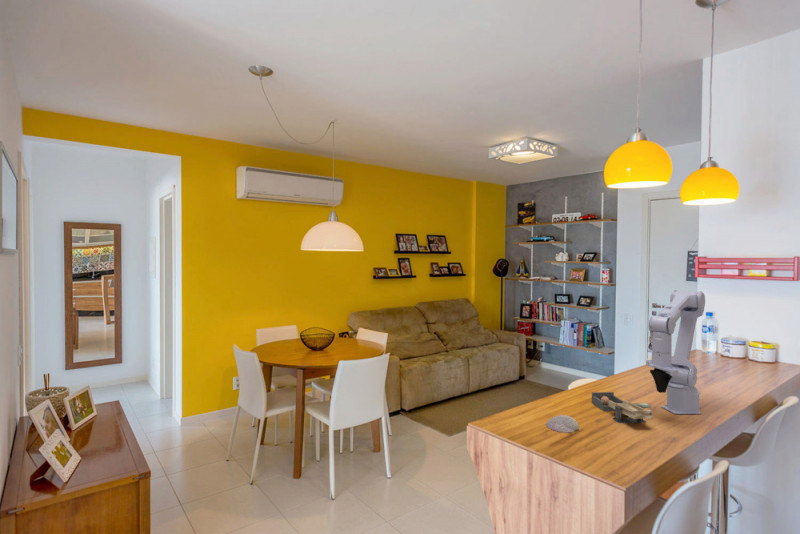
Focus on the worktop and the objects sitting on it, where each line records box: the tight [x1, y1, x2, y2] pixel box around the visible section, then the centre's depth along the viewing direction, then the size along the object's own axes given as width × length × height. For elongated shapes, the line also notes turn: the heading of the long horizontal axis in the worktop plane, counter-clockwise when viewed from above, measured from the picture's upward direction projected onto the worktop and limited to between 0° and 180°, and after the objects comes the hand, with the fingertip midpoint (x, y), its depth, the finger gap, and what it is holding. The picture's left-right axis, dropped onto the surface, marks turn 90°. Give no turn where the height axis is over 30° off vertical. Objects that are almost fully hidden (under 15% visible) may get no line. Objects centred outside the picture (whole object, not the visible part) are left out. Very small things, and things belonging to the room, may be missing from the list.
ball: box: [601, 396, 609, 406], centre depth 163 cm, size 3×3×3 cm
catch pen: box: [591, 391, 623, 412], centre depth 160 cm, size 8×9×4 cm
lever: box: [608, 399, 653, 420], centre depth 146 cm, size 13×16×2 cm
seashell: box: [545, 414, 580, 434], centre depth 142 cm, size 10×6×10 cm
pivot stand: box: [612, 405, 647, 424], centre depth 146 cm, size 9×4×5 cm, turn 91°
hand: (661, 392), depth 146 cm, fingers closed
